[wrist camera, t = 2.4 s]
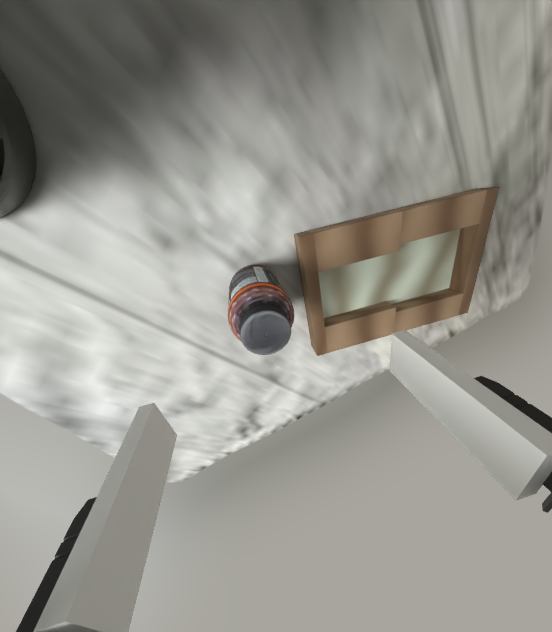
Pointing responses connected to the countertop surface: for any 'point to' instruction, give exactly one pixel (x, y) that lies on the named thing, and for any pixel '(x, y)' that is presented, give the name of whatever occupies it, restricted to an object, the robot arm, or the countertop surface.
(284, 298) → the supplement bottle
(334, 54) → the countertop surface
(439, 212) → the brown wooden picture frame
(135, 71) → the countertop surface
